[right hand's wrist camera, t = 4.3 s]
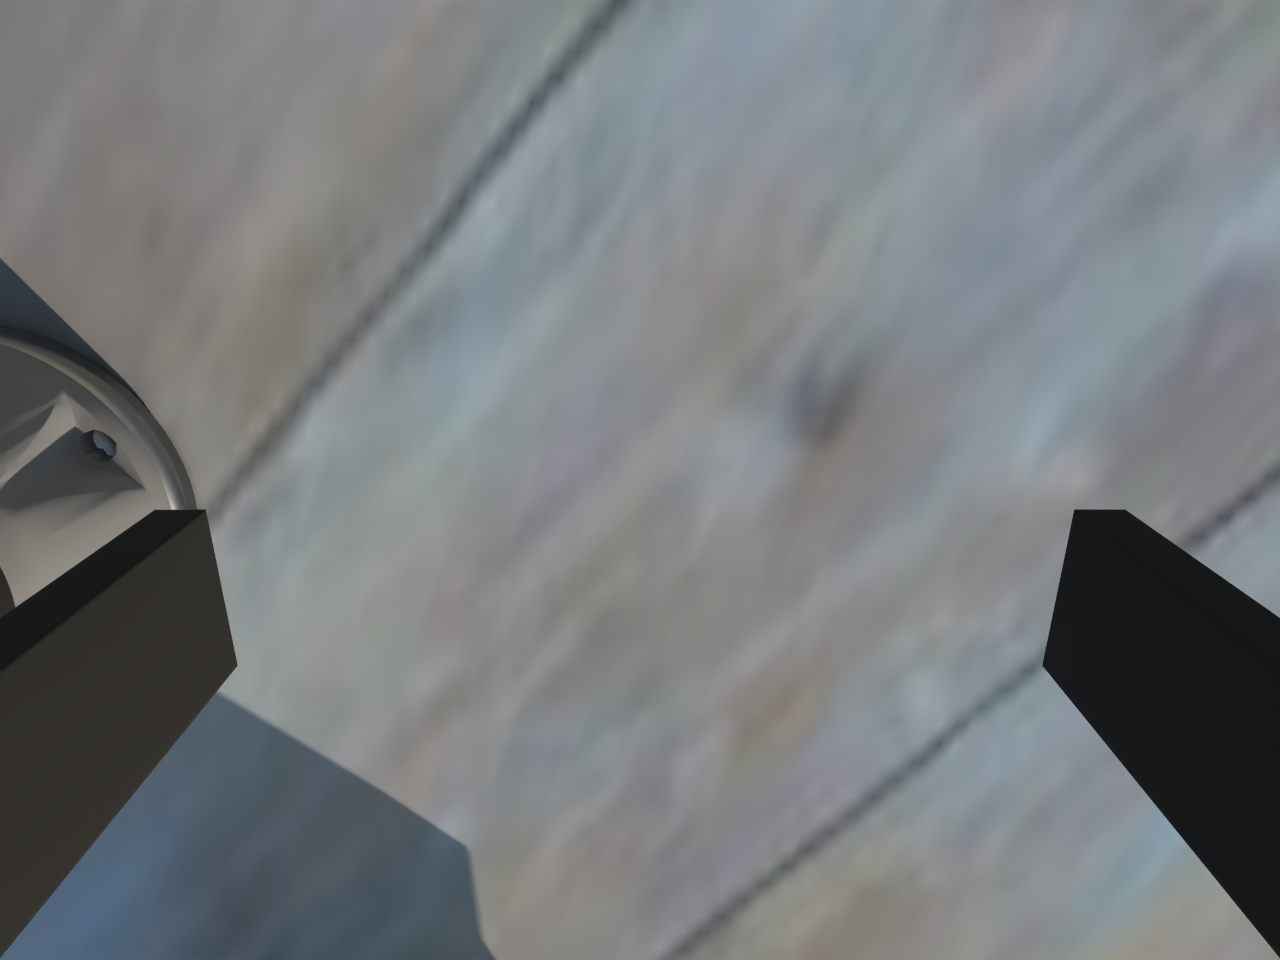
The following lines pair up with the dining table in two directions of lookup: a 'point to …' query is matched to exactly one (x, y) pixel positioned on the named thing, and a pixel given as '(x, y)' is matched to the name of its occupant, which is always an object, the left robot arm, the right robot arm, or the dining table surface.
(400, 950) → the dining table surface
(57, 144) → the dining table surface
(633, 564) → the dining table surface
